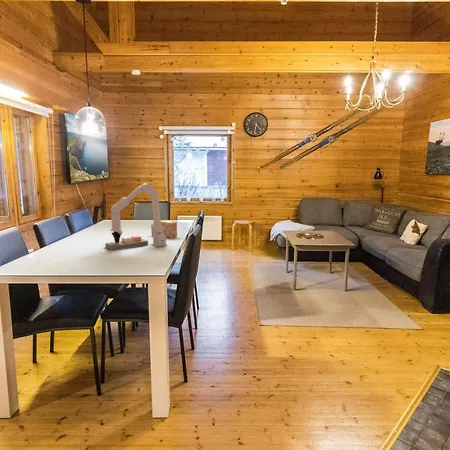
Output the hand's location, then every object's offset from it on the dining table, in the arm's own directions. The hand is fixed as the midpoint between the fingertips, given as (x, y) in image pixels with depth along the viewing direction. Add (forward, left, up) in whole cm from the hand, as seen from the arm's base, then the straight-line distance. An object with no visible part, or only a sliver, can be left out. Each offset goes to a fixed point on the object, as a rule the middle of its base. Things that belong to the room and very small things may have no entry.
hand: (117, 242), depth 239 cm
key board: (0, -7, -3) cm, 8 cm away
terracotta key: (0, -14, -1) cm, 14 cm away
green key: (0, 0, -3) cm, 3 cm away
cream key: (0, -7, -1) cm, 7 cm away
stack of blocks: (+16, -45, -4) cm, 48 cm away
